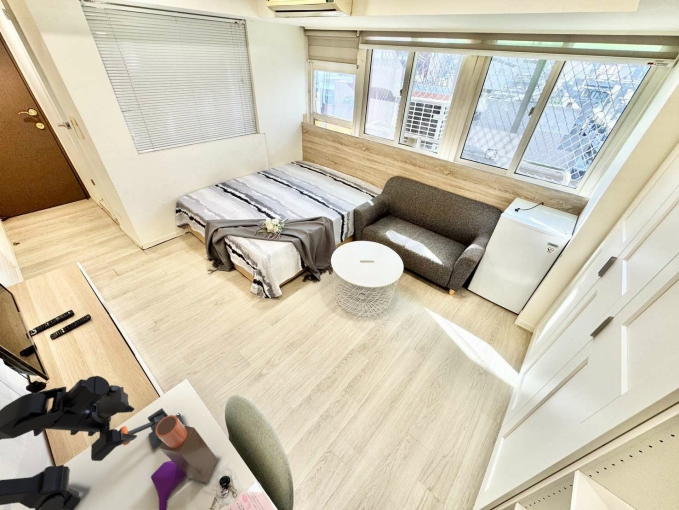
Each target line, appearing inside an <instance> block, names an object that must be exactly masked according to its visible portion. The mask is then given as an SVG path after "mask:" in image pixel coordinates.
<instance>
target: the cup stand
mask: <svg viewBox="0 0 679 510" xmlns="http://www.w3.org/2000/svg"><path fill="white" fill-rule="evenodd" d="M183 426H184V427H185V428H186V430H187V437H186V439H185V441H184V442H183V443H182V444H181V445H180V446H178V447H176V448H169V447H168V446H167V445H166V444H165V443H164V442H163V443H162V444H161V445H159V446H158V448H159V450H160V451H161V452H163V454H165V456H167V458H169V460H170V461H171V460H172V461H173V462H174V463H175V464H176V465H177V466H178V467H179V468H180V469H181V470H182V471H183V472H184V473H185V474H186V475H187V476H186V477H187V478H189V479H191V480H194V481H197V482H201V483H205V484H208V483H209V481H210V479H211V477H212V475H213V472H214V470H215V468H216V466H217V464H218V461H219V459H218V458H217V456H216V455H215V454H214V453H213V451H212V449H211V448H210V447H209V445H208V444H207V443H206V442H205V439H203V438H202V436H201V435H200V433H199V432H198V431H197V430H196V428H195V427H194V426H190V425H186V424H185V425H183Z"/></svg>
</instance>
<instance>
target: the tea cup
mask: <svg viewBox="0 0 679 510" xmlns="http://www.w3.org/2000/svg"><path fill="white" fill-rule="evenodd" d="M156 435H157V436H158V437H159V438H160V439H161V440H162V441H163V442H164V443H165V444H166V445H167V446H168V447H169V448H176V447H178V446H180V445H181V444H182V443H183V442H184V441H185V439H186V437H187V430H186V428H185V427H184V426H183V424H182V423H181V422H180V421H179V419H178V418H177V417H176V416H175V415H173V414H171V415H169V414H168V416H167V417H165V418H163V419H162V420H161V421H160V422H159V423H158V425H157V427H156Z"/></svg>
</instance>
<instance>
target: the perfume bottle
mask: <svg viewBox="0 0 679 510" xmlns="http://www.w3.org/2000/svg"><path fill="white" fill-rule="evenodd" d="M187 477H188V476H187V475H186V474H185V473H184V472H183V471H182V470H181V469H180V468H179V467H178V466H177V465H176V464H175V463H174V462H173V461H172V460H171V459H170V460H167V461H165V462H163V463H162V464H161V465H160V466H159V467H158V468H157V469H156V470H155V471H154V472H153V473H152V474H151V475H150V479H151V481H152V483H153V486H154V488H155V490H156V493H157V496H158V510H167V506H168V501H169V497H170V495H171V493H173V491H174V490H175V489H176V487H177V486H179V484H181V482H183V480H184V479H186V478H187Z"/></svg>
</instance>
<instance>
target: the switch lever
mask: <svg viewBox="0 0 679 510" xmlns="http://www.w3.org/2000/svg"><path fill="white" fill-rule="evenodd" d="M163 418H165V417H164V415H163V414H162V415H159V416H157V417H154V418H153V421H152V422H150V421H149V422H147V423H145V424H143V425H142V424H141V425H140V426H138V427H135V428H133V429H130V430H128V427H127V425H124V426H122V427H120V429H121V431H122V433H125V434H133V435H136V434H138V433H140V432H142V431H145V430H147V429H149V428H151V427H152V426H153V425H155V424H156V423H157V422H159V421H160V420H162V419H163ZM120 429H119V430H120ZM130 443H131V441H129V442H127V443H124V444H122V446H127V445H129V444H130Z"/></svg>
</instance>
